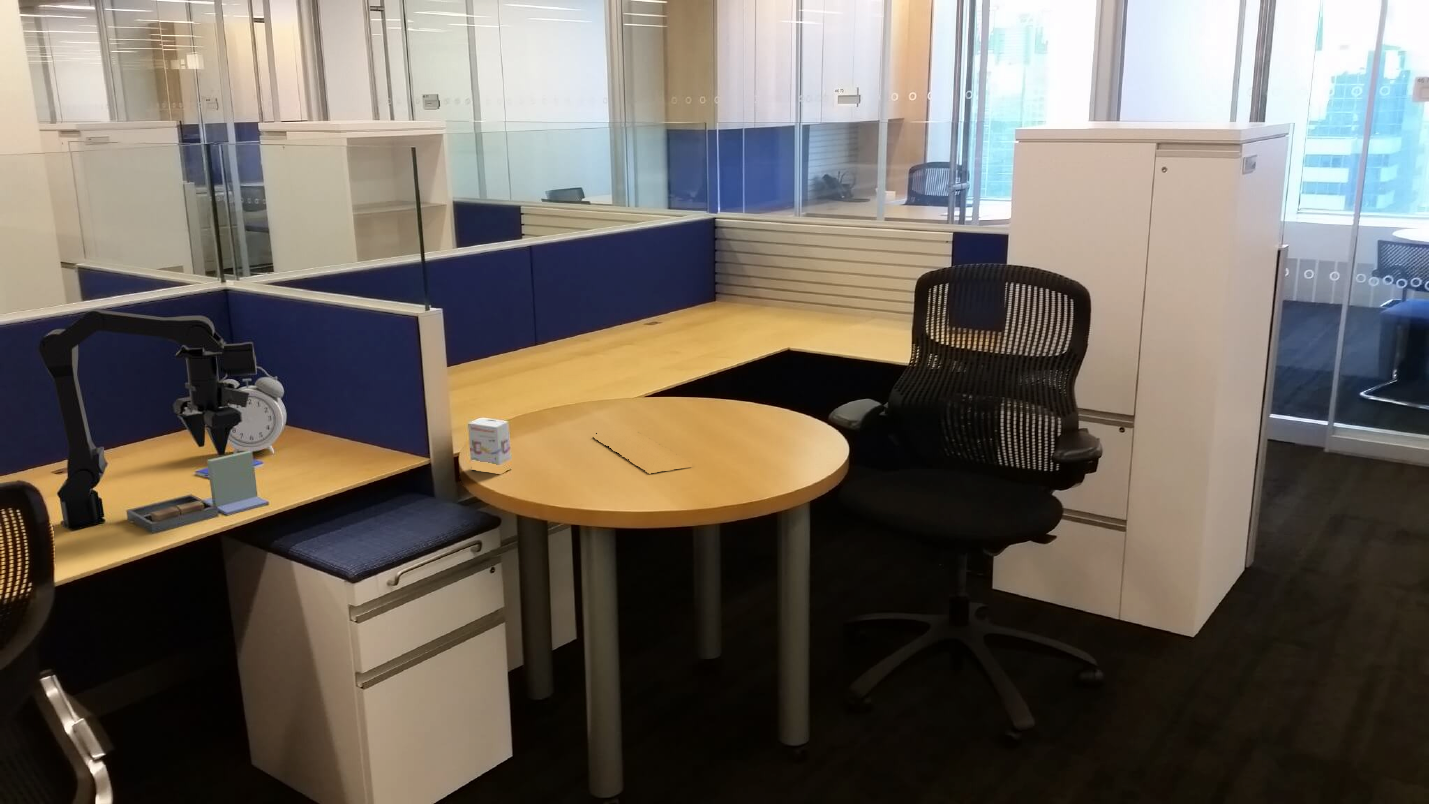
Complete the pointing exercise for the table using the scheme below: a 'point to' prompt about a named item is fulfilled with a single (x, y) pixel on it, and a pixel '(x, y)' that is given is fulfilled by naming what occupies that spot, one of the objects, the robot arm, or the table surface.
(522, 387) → the table surface
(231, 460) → the green upright panel
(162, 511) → the offcut
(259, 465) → the hard drive
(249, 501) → the mat
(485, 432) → the ink box
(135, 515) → the rack
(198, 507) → the offcut
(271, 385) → the alarm clock
